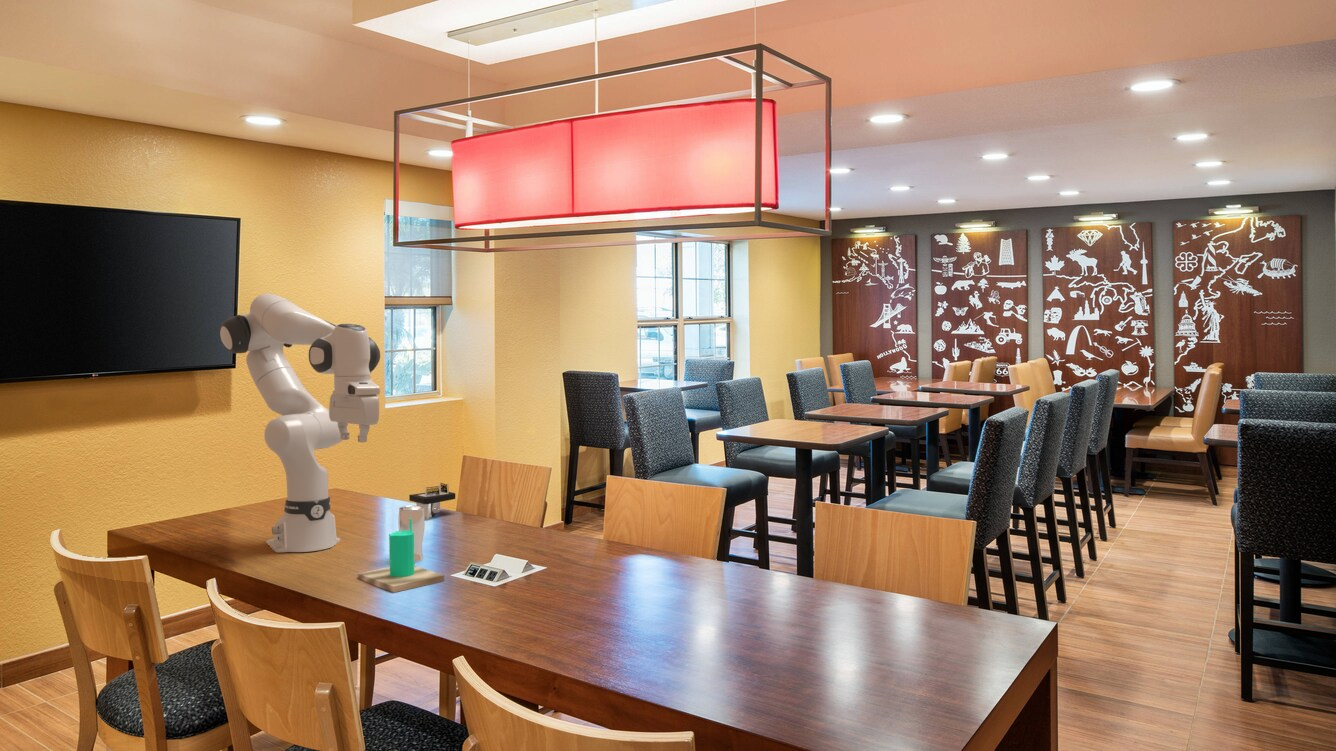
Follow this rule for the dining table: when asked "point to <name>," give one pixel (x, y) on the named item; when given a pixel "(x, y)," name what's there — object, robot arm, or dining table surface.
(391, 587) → the birch board
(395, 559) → the candle
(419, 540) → the beer glass
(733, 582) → the dining table surface
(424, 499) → the black-topped pedestal
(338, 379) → the robot arm
